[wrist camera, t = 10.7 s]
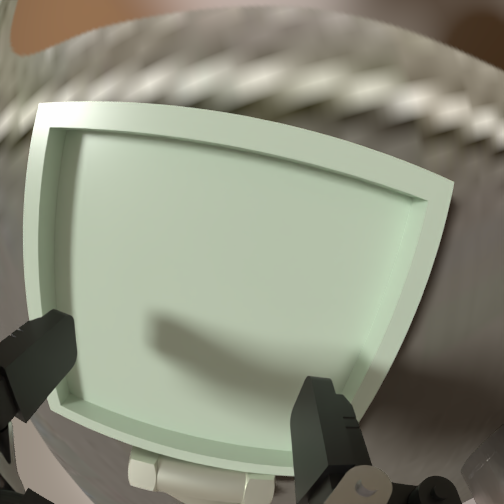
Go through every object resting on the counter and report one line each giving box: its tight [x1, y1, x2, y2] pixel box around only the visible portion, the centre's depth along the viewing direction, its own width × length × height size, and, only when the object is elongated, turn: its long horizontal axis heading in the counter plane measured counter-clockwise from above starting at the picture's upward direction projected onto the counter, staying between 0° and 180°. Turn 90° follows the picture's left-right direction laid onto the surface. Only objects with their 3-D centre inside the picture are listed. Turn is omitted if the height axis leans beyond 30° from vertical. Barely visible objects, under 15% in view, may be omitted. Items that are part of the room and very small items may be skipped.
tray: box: [23, 101, 454, 476], centre depth 11 cm, size 16×16×2 cm
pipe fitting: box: [128, 446, 276, 504], centre depth 13 cm, size 8×4×7 cm
